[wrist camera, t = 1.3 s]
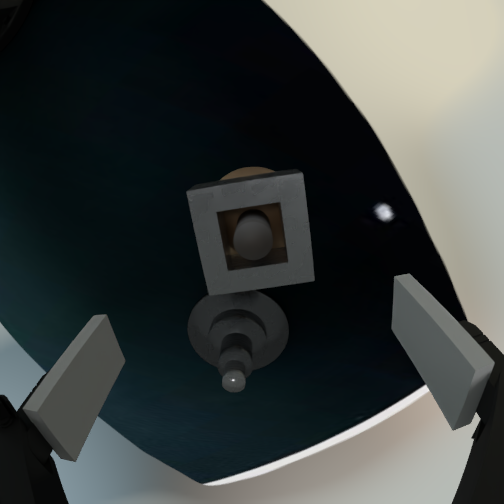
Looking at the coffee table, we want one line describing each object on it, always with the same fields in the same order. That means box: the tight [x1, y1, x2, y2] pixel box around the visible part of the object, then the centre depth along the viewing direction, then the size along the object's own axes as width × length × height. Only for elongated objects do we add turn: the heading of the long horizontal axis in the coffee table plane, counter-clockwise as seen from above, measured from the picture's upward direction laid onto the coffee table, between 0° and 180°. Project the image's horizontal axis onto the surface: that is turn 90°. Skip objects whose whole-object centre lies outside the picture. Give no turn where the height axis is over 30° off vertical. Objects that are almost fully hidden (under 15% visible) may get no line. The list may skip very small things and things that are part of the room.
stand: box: [221, 167, 284, 260], centre depth 29 cm, size 10×10×9 cm
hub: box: [188, 289, 289, 392], centre depth 33 cm, size 12×12×10 cm
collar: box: [186, 169, 315, 296], centre depth 27 cm, size 9×9×4 cm
